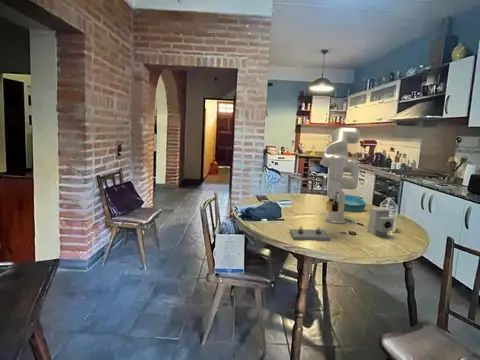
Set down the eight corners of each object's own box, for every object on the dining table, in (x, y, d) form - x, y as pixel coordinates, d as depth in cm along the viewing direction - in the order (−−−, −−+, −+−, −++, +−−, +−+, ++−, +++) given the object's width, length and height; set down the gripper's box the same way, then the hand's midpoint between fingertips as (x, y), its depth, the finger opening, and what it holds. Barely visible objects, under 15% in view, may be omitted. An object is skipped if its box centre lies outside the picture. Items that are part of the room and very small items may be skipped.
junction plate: (289, 232, 203) (290, 223, 202) (323, 233, 203) (324, 224, 202) (293, 240, 189) (294, 230, 188) (330, 241, 189) (331, 231, 189)
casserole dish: (369, 214, 253) (370, 204, 251) (337, 212, 254) (338, 203, 253) (356, 203, 289) (357, 194, 288) (329, 201, 290) (329, 193, 289)
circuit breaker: (382, 239, 195) (385, 213, 193) (367, 231, 209) (369, 207, 207) (393, 238, 197) (396, 212, 195) (377, 231, 211) (380, 206, 209)
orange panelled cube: (326, 209, 197) (326, 200, 197) (336, 209, 198) (337, 200, 197) (329, 211, 191) (330, 203, 191) (340, 212, 192) (340, 203, 191)
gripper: (324, 175, 200) (322, 206, 203) (333, 180, 183) (331, 213, 186) (337, 176, 201) (334, 206, 203) (347, 180, 183) (344, 213, 186)
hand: (333, 209), depth 195 cm, fingers closed on orange panelled cube, 6 cm apart
